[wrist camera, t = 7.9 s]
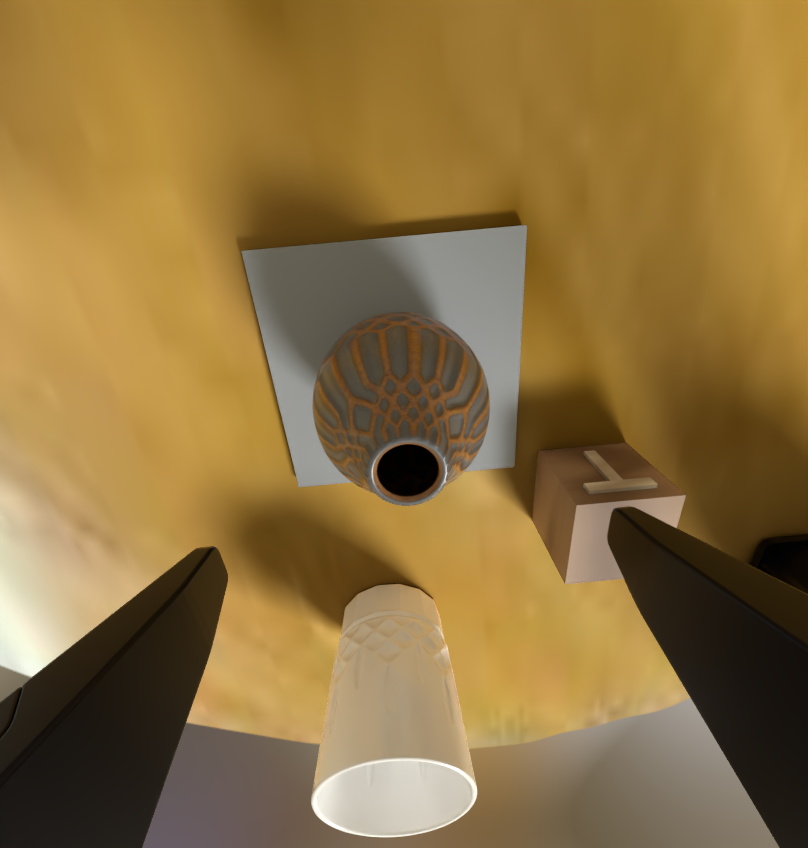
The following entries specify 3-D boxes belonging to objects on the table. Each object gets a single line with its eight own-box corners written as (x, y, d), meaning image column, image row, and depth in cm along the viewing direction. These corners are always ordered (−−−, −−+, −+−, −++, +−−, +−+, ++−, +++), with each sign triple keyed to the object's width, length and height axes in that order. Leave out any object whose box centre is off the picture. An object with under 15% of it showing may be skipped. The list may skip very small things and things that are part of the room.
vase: (326, 433, 20) (290, 561, 12) (325, 294, 17) (276, 347, 9) (458, 439, 21) (503, 565, 13) (479, 305, 18) (554, 364, 10)
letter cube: (625, 438, 22) (687, 491, 18) (611, 511, 24) (662, 574, 20) (537, 446, 22) (577, 501, 18) (531, 519, 24) (564, 584, 20)
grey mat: (522, 225, 17) (527, 225, 16) (511, 461, 22) (514, 466, 22) (245, 250, 17) (241, 251, 16) (300, 481, 22) (298, 487, 22)
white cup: (376, 558, 25) (372, 740, 16) (469, 604, 27) (511, 785, 18) (313, 628, 28) (280, 817, 19) (403, 664, 30) (412, 849, 21)
